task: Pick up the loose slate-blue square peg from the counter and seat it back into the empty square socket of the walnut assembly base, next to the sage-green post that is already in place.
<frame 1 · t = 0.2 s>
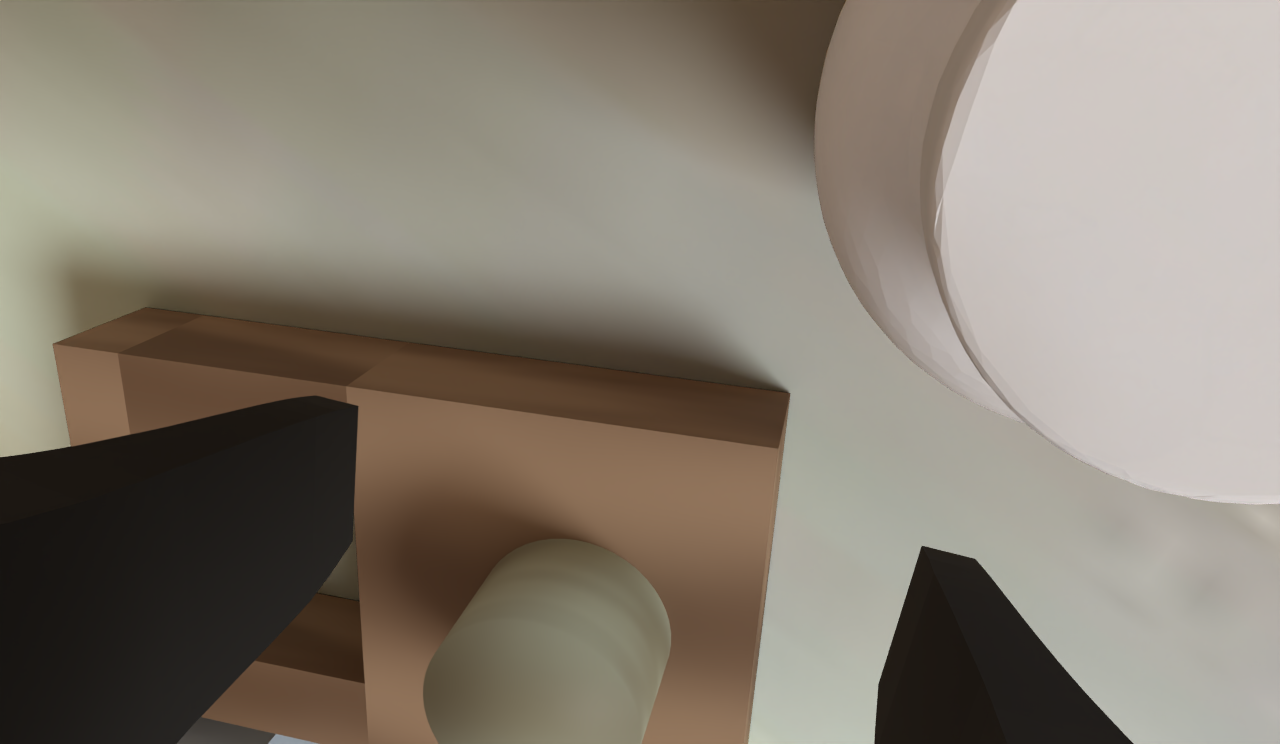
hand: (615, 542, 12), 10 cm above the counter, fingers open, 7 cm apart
supplement bottle: (1009, 79, 18), on the counter
peg: (262, 724, 28), on the counter
base: (458, 530, 24), on the counter
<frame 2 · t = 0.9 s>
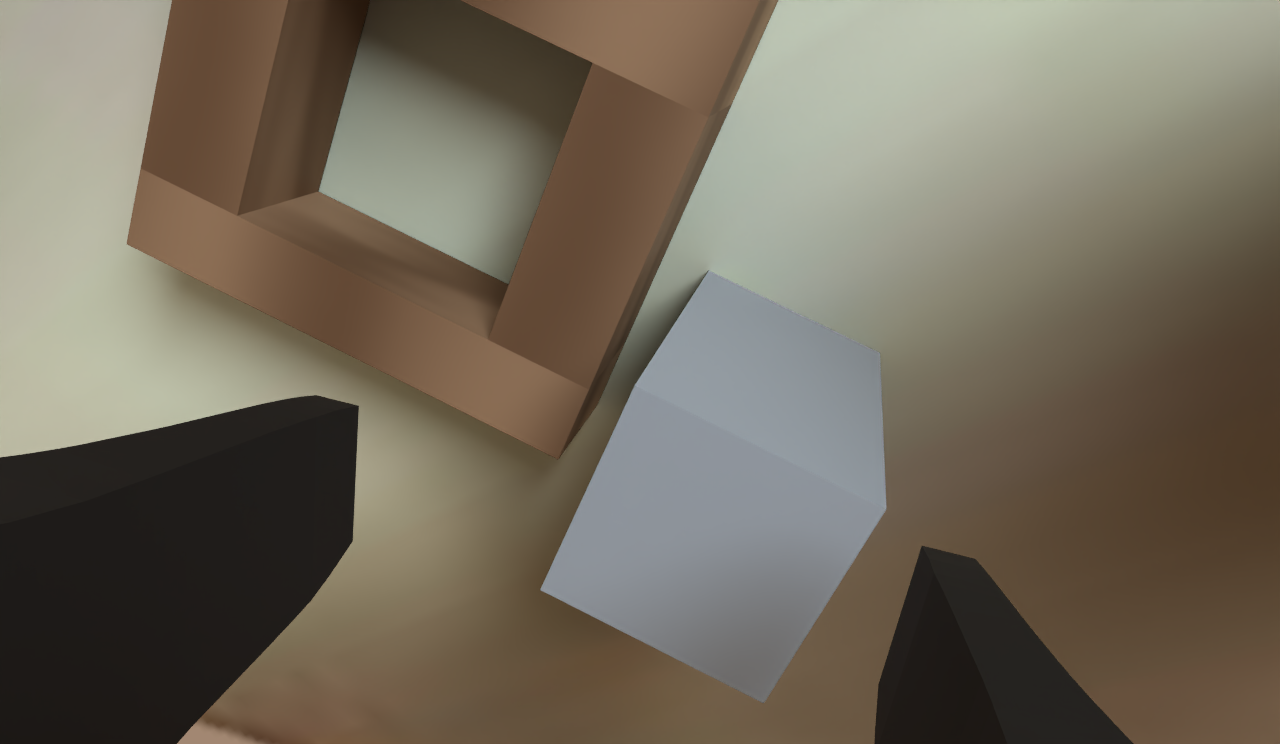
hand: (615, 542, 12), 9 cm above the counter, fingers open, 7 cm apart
peg: (753, 389, 21), on the counter
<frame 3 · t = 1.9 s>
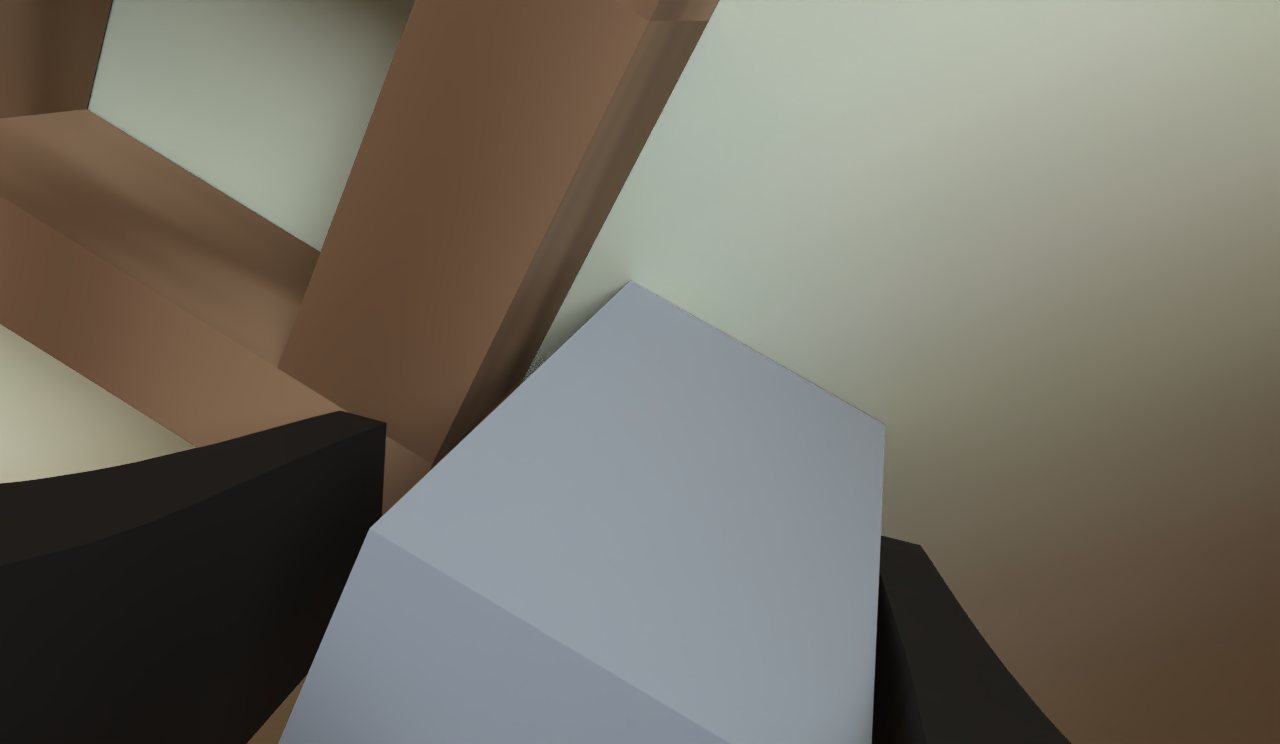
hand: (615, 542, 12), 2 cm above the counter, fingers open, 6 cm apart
peg: (690, 463, 14), on the counter, touching gripper
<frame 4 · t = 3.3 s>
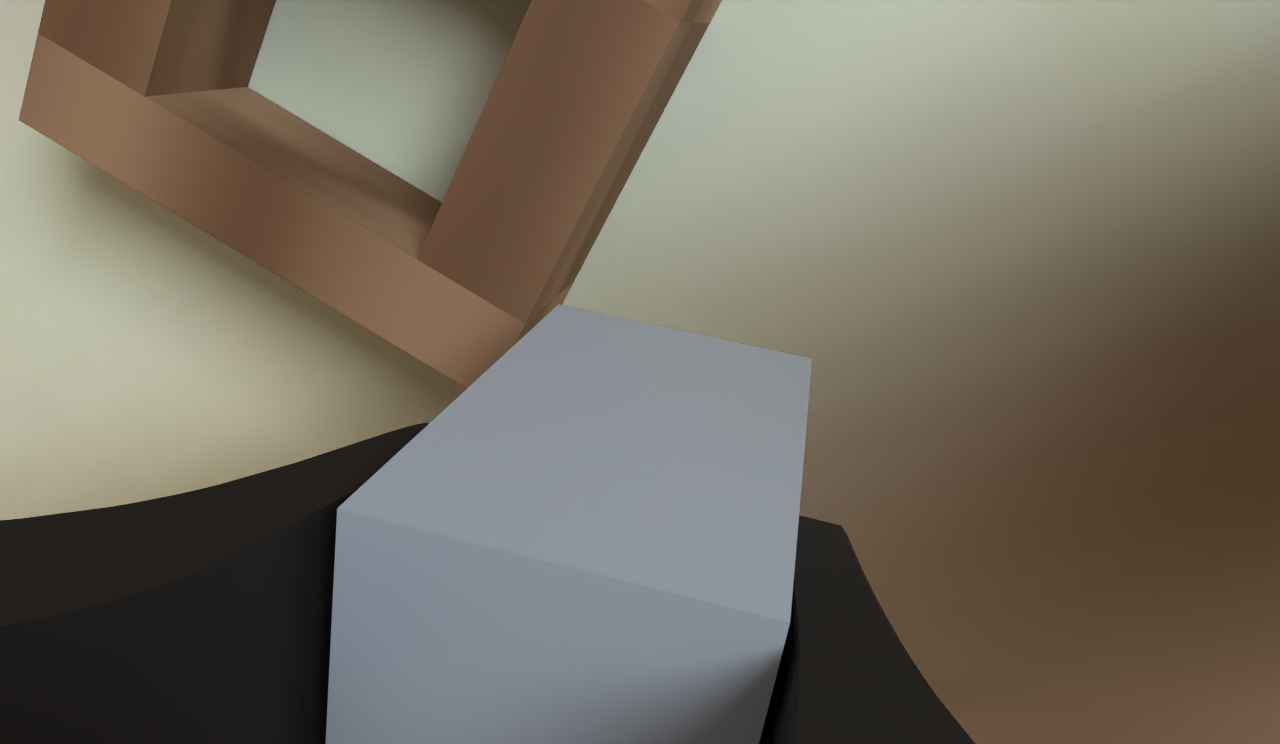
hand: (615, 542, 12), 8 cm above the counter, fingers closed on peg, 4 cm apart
peg: (661, 447, 15), point 4 cm above the counter, touching gripper
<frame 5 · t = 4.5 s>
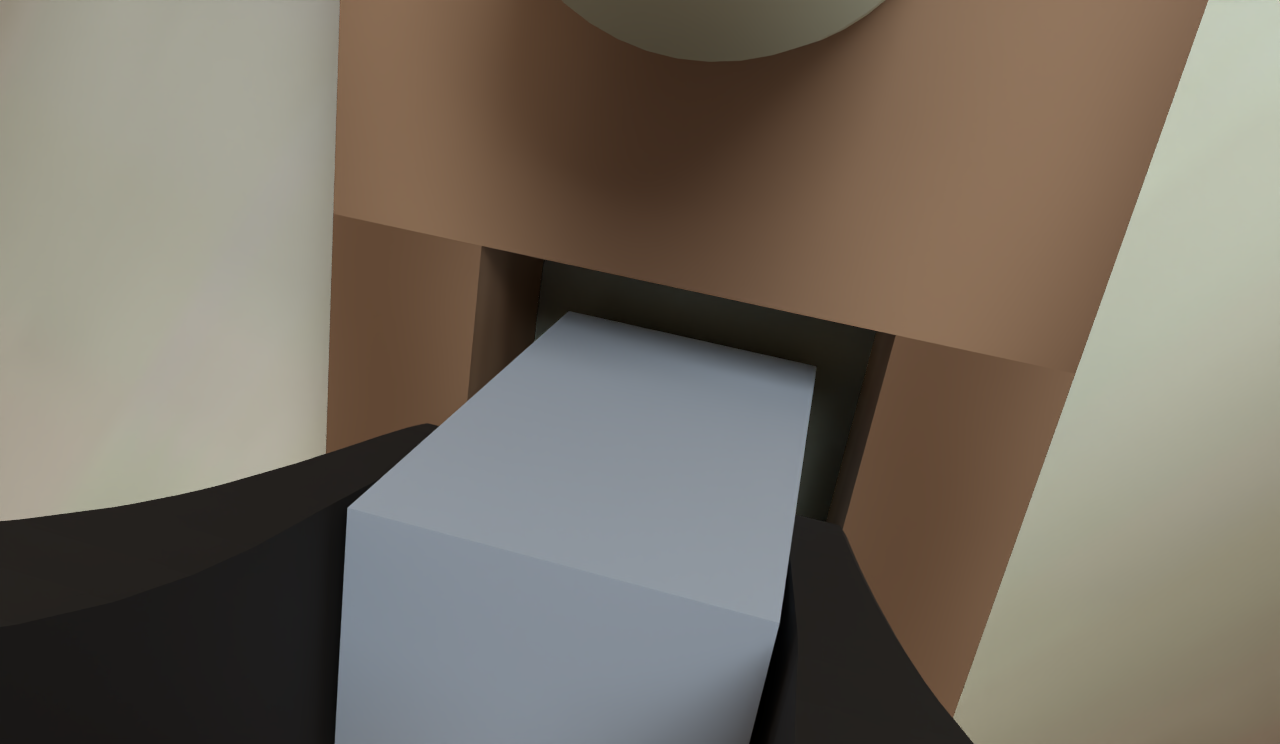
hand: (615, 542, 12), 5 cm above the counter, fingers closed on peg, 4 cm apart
peg: (668, 451, 15), point 1 cm above the counter, touching gripper
base: (729, 166, 15), on the counter
when the fingers open (4 cm above the counter, at t = 5.2 s): peg stays where it is, resting in base.
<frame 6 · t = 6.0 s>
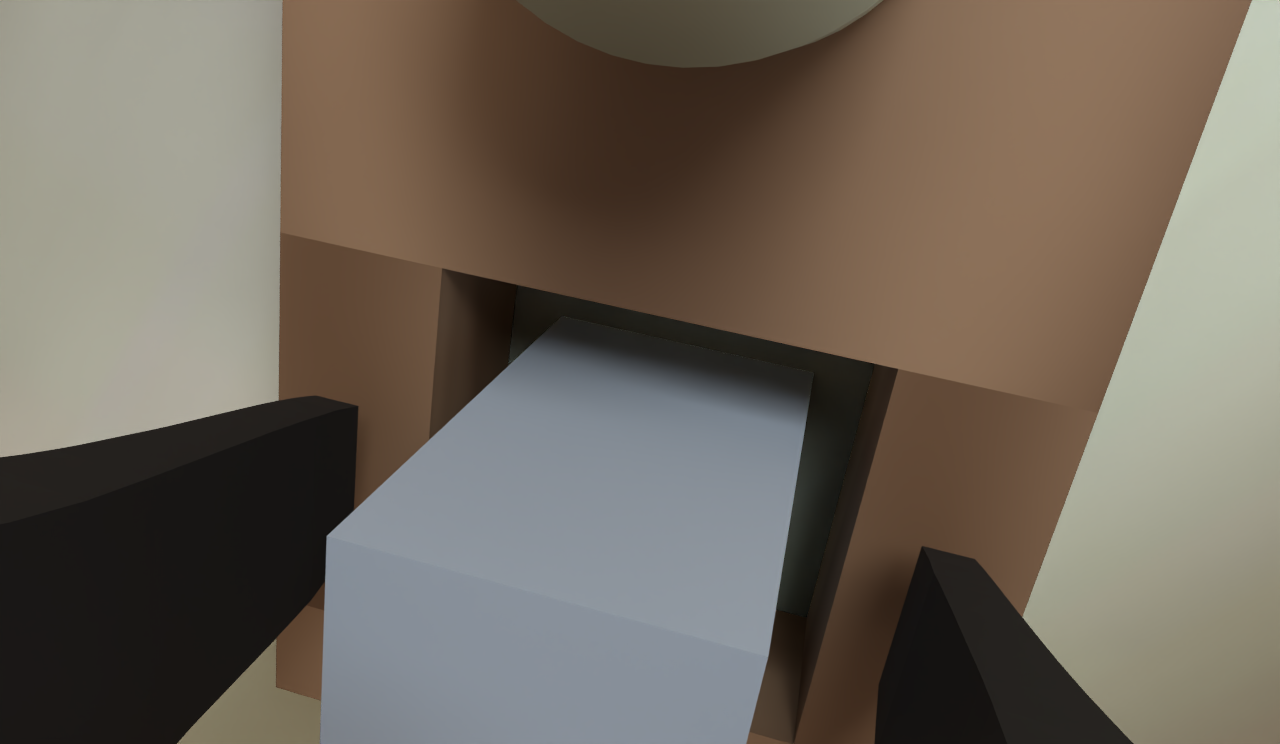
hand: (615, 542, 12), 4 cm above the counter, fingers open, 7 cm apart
peg: (664, 457, 15), resting in base
base: (717, 178, 13), on the counter
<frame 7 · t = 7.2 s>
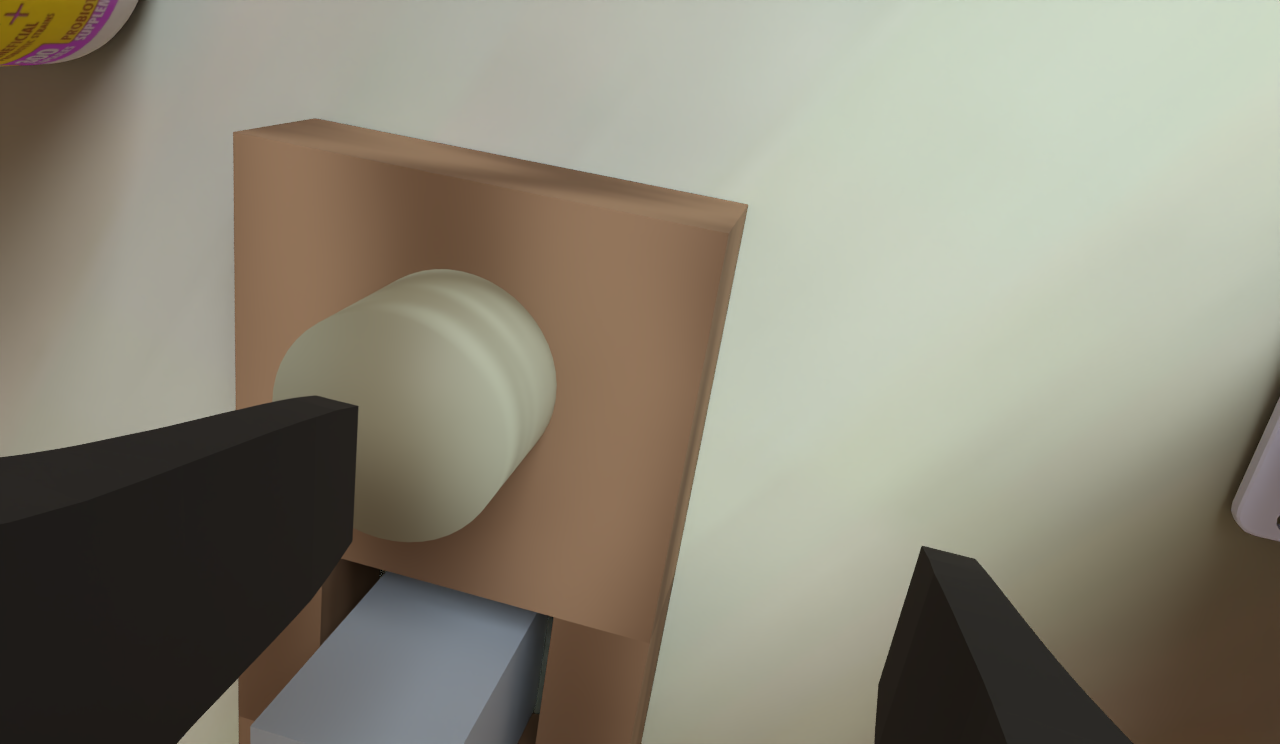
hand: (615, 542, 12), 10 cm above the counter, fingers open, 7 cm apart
peg: (473, 626, 25), resting in base
base: (489, 479, 24), on the counter
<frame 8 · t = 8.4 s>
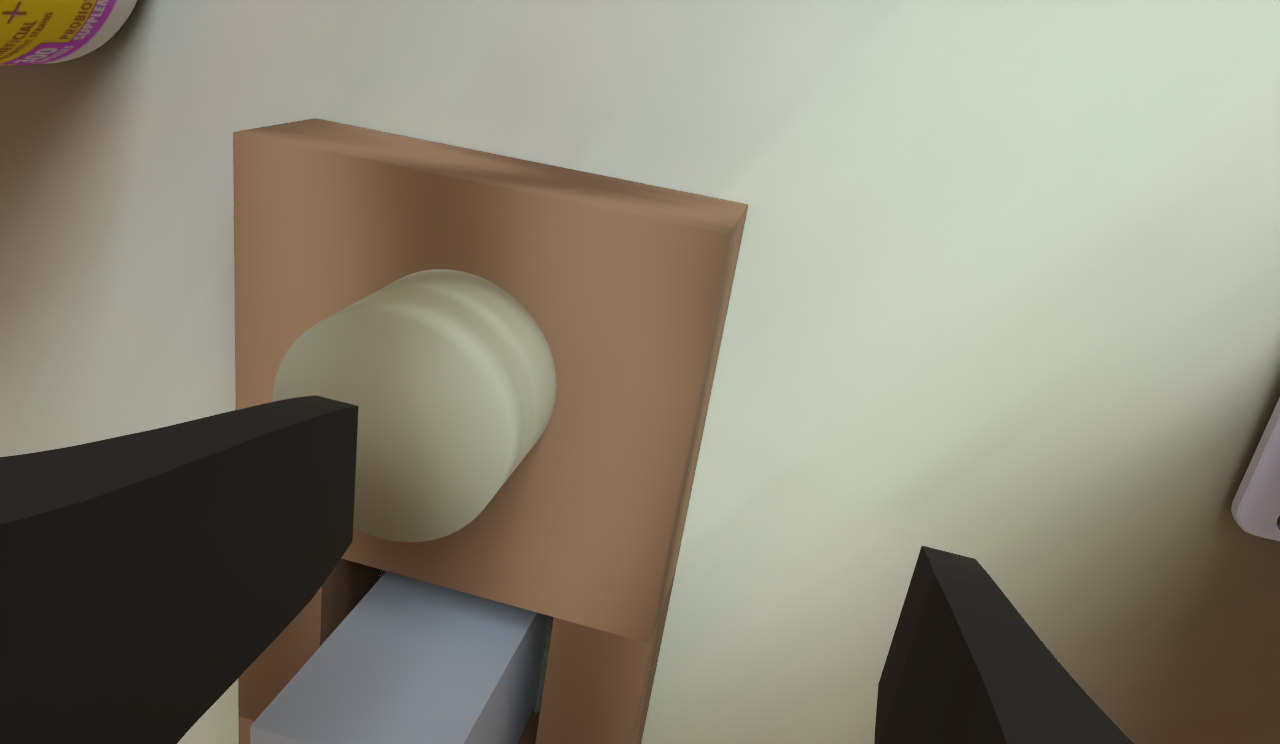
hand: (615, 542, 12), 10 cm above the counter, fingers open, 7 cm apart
peg: (473, 626, 25), resting in base
base: (489, 479, 24), on the counter
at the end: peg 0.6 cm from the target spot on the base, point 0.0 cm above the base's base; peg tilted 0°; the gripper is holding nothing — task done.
